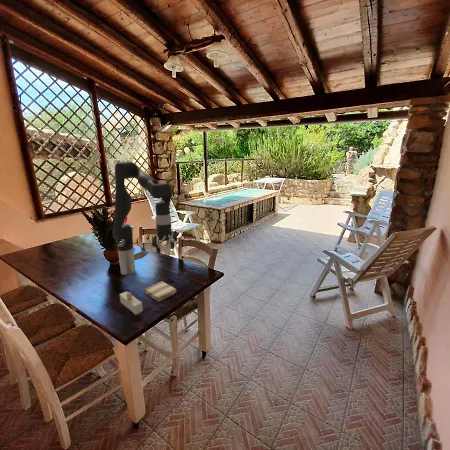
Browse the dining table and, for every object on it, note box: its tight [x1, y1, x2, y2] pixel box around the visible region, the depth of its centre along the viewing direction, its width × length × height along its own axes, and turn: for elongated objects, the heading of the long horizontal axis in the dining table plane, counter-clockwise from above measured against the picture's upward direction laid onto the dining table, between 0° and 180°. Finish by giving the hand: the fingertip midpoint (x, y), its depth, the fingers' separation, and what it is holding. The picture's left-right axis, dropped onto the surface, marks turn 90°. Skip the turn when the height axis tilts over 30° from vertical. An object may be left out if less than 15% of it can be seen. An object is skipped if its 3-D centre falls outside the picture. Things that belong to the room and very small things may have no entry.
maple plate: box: [144, 280, 177, 303], centre depth 145 cm, size 14×12×3 cm
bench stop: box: [119, 291, 144, 316], centre depth 131 cm, size 16×4×8 cm, turn 48°
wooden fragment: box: [134, 251, 149, 260], centre depth 193 cm, size 26×11×1 cm, turn 140°
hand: (165, 251), depth 135 cm, fingers open, 8 cm apart
